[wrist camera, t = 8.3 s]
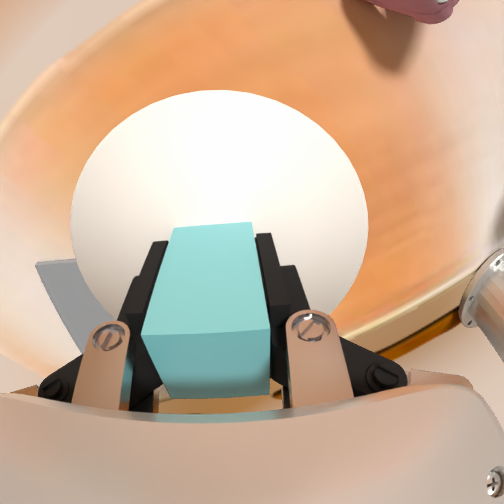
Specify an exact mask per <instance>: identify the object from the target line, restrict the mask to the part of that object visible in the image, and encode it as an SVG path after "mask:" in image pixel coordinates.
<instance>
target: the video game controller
mask: <svg viewBox="0 0 504 504" xmlns="http://www.w3.org/2000/svg"><path fill="white" fill-rule="evenodd" d="M365 1H367V2H369V3H372V4H374V5H376V6H379V7H382V8H385V9H388V10H391V11H394V12H398V13H401V14H405V15H408V16H412V17H413V18H415V19H416V20H417V21H420V22H422V23H427V24H437V23H440V22H443V21H444V20H446V19H447V18H449V17H450V16H451V14H452V12H453V7H454V6H455V5H456V4H457V3H458V1H459V0H365Z"/></svg>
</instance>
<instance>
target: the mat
mask: <svg viewBox="0 0 504 504" xmlns="http://www.w3.org/2000/svg"><path fill="white" fill-rule="evenodd" d="M35 267H36V269H37V271H38V274H39V276H40V278H41V280H42V282H43V284H44V287H45V289H46V291H47V293H48V295H49V297H50V299H51V301H52V303H53V305H54V307H55V308H56V310H57V312H58V314H59V316H60V318H61V320H62V321H63V323H64V325H65V327H66V328H67V330H68V332H69V334H70V335H71V337H72V339H73V340H74V342H75V343H76V345H77V347H78V348H79V350H80V351H81V353H82V354H83V353H84V351H85V347H86V344H87V341H88V338H89V335H90V333H91V332H92V331H93V330H94V329H95V328H96V327H97V326H98V325H100V324H102V323H104V322H107V321H117V320H116V319H114V318H113V317H112V316H111V315H110V314H109V313H108V312H107V311H106V310H105V309H104V308H103V306H102V305H101V304H100V303H99V302H98V300H97V299H96V298H95V297H94V295H93V294H92V292H91V290H90V289H89V287H88V286H87V284H86V282H85V280H84V278H83V276H82V274H81V272H80V270H79V267H78V264H77V261H76V259H70V260H58V261H46V262H37V263H36V265H35Z"/></svg>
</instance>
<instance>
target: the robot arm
mask: <svg viewBox="0 0 504 504" xmlns="http://www.w3.org/2000/svg"><path fill="white" fill-rule="evenodd" d="M254 238H255V244H256V250H257V255H258V261H259V267H260V272H261V278H262V284H263V290H264V295H265V301H266V307H267V313H268V319H269V324H270V378H272V379H273V380H274V381H276V382H277V383H279V384H281V385H282V404H283V409H280V410H271V411H260V412H246V413H230V414H161V413H160V414H159V413H158V405H159V390H158V387H160V386H161V385H162V384H163V382H162V380H161V378H160V376H159V374H158V372H157V369H156V367H155V365H154V363H153V361H152V359H151V357H150V355H149V352H148V350H147V348H146V346H145V343H144V341H143V339H142V337H141V332H142V328H143V325H144V321H145V317H146V314H147V310H148V307H149V303H150V300H151V297H152V293H153V290H154V287H155V283H156V280H157V277H158V274H159V271H160V267H161V264H162V261H163V258H164V255H165V252H166V249H167V246H168V243H169V242H168V240H165V241H154V242H153V243H152V245H151V247H150V250H149V252H148V255H147V257H146V259H145V262H144V264H143V267H142V269H141V272H140V274H139V276H135V277H134V278H133V280H132V282H131V285H130V287H129V290H128V292H127V295H126V297H125V300H124V302H123V305H122V308H121V310H120V313H119V316H118V318H117V321H107V322H104V323H102V324H100V325H98V326H97V327H96V328H95V329H94V330H93V331H92V332H91V333H90V335H89V338H88V341H87V344H86V347H85V351H84V353H83V354H82V355H80V356H79V357H77V358H76V359H74V360H72V361H71V362H69V363H68V364H66V365H65V366H63V367H62V368H60V369H58V370H57V371H55V372H54V373H52V374H51V375H49V376H48V377H47V378H45V379H44V380H43V382H42V383H41V384H40V387H38V386H37V385H34V386H31V387H27V388H24V389H21V390H17V391H14V392H10V393H0V504H504V431H503V429H502V427H501V425H500V423H499V421H498V420H497V418H496V416H495V414H494V413H493V411H492V410H491V408H490V407H489V405H488V404H487V402H486V401H485V400H484V398H483V397H481V395H480V394H479V393H477V392H476V391H475V390H473V386H472V384H471V383H470V382H469V380H467V379H466V378H465V377H462V376H459V375H452V374H443V373H436V372H429V371H421V370H414V369H411V370H410V372H405V371H404V370H403V368H402V367H401V366H400V365H398V364H397V363H395V362H394V361H391V360H389V359H387V358H385V357H383V356H380V355H378V354H376V353H374V352H372V351H369V350H367V349H365V348H363V347H361V346H358V345H357V344H354V343H352V342H350V341H348V340H346V339H344V338H342V337H340V336H339V335H338V332H337V328H336V325H335V323H334V321H333V319H332V318H331V317H330V316H329V315H327V314H325V313H323V312H321V311H317V310H311V309H310V306H309V303H308V300H307V297H306V295H305V292H304V289H303V286H302V283H301V280H300V277H299V274H298V271H297V269H296V266H295V265H285V266H280V263H279V259H278V256H277V252H276V248H275V245H274V241H273V238H272V234H271V233H256V237H254ZM458 316H459V319H460V321H461V322H462V323H463V325H464V326H465V327H469V328H472V327H476V326H479V327H480V329H481V330H482V331H483V333H484V334H485V336H486V337H487V339H488V340H489V341H490V343H491V344H492V346H493V347H494V349H495V350H496V352H497V353H498V355H499V356H500V358H501V359H502V361H503V362H504V248H502V249H500V250H498V251H497V252H495V253H494V254H493V255H492V256H491V257H489V258H488V259H487V260H486V262H485V263H484V264H483V265H482V266H481V267H480V268H479V270H478V271H477V272H476V274H475V275H474V277H473V278H472V279H471V281H470V283H469V284H468V286H467V288H466V290H465V292H464V294H463V296H462V299H461V302H460V305H459V310H458Z"/></svg>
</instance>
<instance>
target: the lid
mask: <svg viewBox="0 0 504 504" xmlns="http://www.w3.org/2000/svg"><path fill="white" fill-rule="evenodd" d="M70 223H71V239H72V245H73V251H74V255H75V258H76V261H77V264H78V267H79V270H80V272H81V274H82V276H83V278H84V280H85V282H86V284H87V286H88V287H89V289H90V290H91V292H92V294H93V295H94V297H95V298H96V299H97V300H98V302H99V303H100V304H101V305H102V306H103V308H104V309H105V310H106V311H107V312H108V313H109V314H110V315H111V316H112V317H113V318H114V319H116V320H117V318H118V316H119V313H120V310H121V308H122V305H123V302H124V300H125V297H126V295H127V292H128V290H129V287H130V285H131V282H132V280H133V278H134V277H135V276H139V274H140V272H141V269H142V267H143V264H144V262H145V259H146V257H147V255H148V252H149V250H150V247H151V245H152V243H153V242H154V241H165V240H168V242H169V243H168V246H167V249H166V252H165V255H164V258H163V261H162V264H161V267H160V271H159V274H158V277H157V280H156V283H155V287H154V290H153V293H152V297H151V300H150V303H149V307H148V310H147V314H146V317H145V321H144V325H143V328H142V332H141V337H142V339H143V341H144V343H145V346H146V348H147V350H148V352H149V355H150V357H151V359H152V361H153V363H154V365H155V367H156V369H157V372H158V374H159V376H160V378H161V380H162V382H163V384H164V386H165V388H166V389H167V391H168V393H169V395H170V397H171V399H204V398H231V397H246V396H259V395H269V389H270V387H269V386H270V383H269V382H270V324H269V319H268V313H267V307H266V301H265V295H264V290H263V284H262V278H261V272H260V267H259V261H258V255H257V250H256V244H255V238H254V237H256V233H271V234H272V238H273V241H274V245H275V248H276V252H277V256H278V259H279V263H280V266H285V265H295V266H296V269H297V271H298V274H299V277H300V280H301V283H302V286H303V289H304V292H305V295H306V297H307V300H308V303H309V306H310V309H311V310H317V311H321V312H323V313H325V314H327V315H329V314H330V313H331V312H332V311H333V310H334V309H335V308H336V307H337V306H338V305H339V303H340V302H341V301H342V299H343V298H344V297H345V295H346V294H347V293H348V291H349V289H350V288H351V286H352V284H353V282H354V281H355V279H356V277H357V274H358V272H359V270H360V267H361V265H362V262H363V258H364V254H365V250H366V245H367V236H368V212H367V206H366V201H365V196H364V192H363V189H362V186H361V184H360V181H359V178H358V176H357V174H356V172H355V170H354V168H353V166H352V164H351V163H350V161H349V159H348V157H347V156H346V155H345V153H344V152H343V151H342V149H341V148H340V147H339V145H338V144H337V143H336V142H335V140H334V139H333V138H332V137H331V136H329V135H328V134H327V133H326V132H325V131H324V130H323V129H322V128H321V127H320V126H319V125H318V124H316V123H315V122H313V121H312V120H310V119H309V118H308V117H306V116H305V115H303V114H302V113H300V112H299V111H297V110H295V109H293V108H291V107H288V106H286V105H284V104H282V103H280V102H278V101H275V100H272V99H269V98H265V97H262V96H259V95H255V94H251V93H244V92H237V91H229V90H211V91H197V92H191V93H186V94H181V95H176V96H173V97H170V98H167V99H164V100H161V101H158V102H156V103H153V104H151V105H149V106H147V107H145V108H143V109H141V110H140V111H138V112H136V113H134V114H133V115H131V116H129V117H128V118H127V119H126V120H124V121H123V122H122V123H120V124H119V125H118V126H117V127H115V128H114V129H113V130H112V131H111V132H110V133H109V134H108V135H107V136H106V137H105V138H104V139H103V140H102V142H101V143H100V144H99V145H98V146H97V148H96V149H95V150H94V152H93V153H92V155H91V156H90V158H89V159H88V161H87V162H86V164H85V167H84V169H83V171H82V173H81V175H80V177H79V180H78V182H77V186H76V189H75V193H74V196H73V201H72V208H71V216H70Z"/></svg>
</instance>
